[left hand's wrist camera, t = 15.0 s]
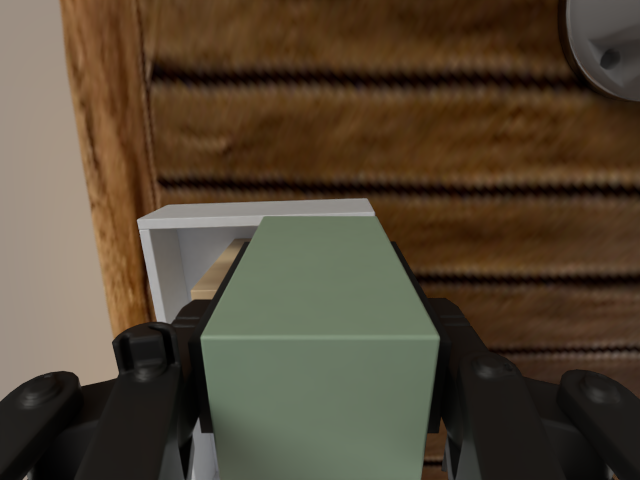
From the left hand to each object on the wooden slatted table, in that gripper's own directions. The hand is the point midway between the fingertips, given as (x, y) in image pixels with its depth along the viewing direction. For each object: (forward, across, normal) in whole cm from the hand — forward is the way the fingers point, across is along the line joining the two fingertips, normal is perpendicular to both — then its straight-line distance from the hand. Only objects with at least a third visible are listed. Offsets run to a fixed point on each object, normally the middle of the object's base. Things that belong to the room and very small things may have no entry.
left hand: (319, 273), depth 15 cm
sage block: (0, 0, 0) cm, 0 cm away
